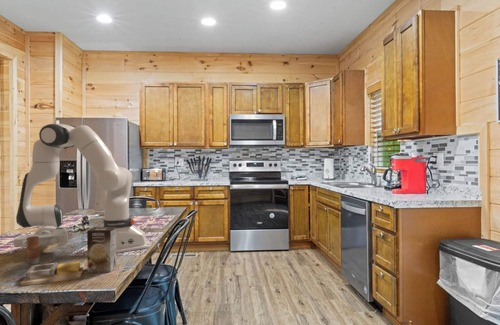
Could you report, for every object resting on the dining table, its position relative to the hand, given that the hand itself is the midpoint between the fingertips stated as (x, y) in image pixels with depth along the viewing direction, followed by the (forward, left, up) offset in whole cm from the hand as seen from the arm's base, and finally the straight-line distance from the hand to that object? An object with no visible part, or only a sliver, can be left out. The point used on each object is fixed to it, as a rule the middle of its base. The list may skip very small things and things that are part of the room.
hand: (37, 243), depth 136 cm
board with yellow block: (-10, +22, -8) cm, 25 cm away
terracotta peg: (0, +8, -8) cm, 11 cm away
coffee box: (-26, +22, -8) cm, 35 cm away
